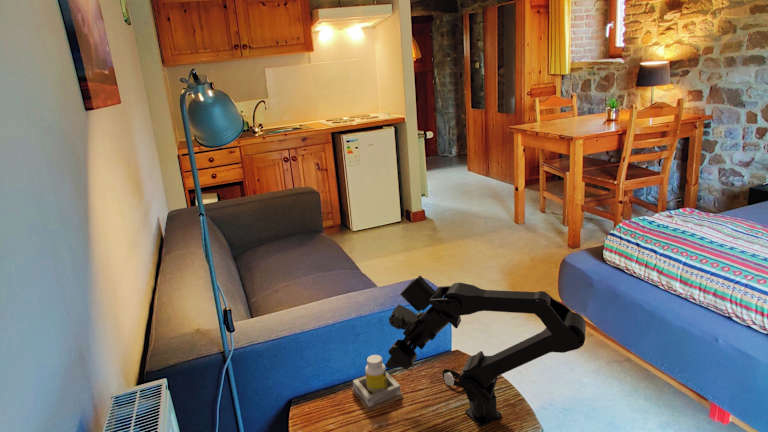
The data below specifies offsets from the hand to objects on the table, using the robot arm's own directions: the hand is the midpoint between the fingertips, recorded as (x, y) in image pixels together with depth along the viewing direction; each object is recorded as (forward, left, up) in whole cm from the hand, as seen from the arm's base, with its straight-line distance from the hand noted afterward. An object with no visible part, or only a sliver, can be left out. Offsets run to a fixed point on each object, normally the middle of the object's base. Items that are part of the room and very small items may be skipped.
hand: (393, 356), depth 126 cm
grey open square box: (+4, +4, -12) cm, 14 cm away
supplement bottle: (+4, +4, -11) cm, 13 cm away
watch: (-3, -16, -13) cm, 21 cm away
